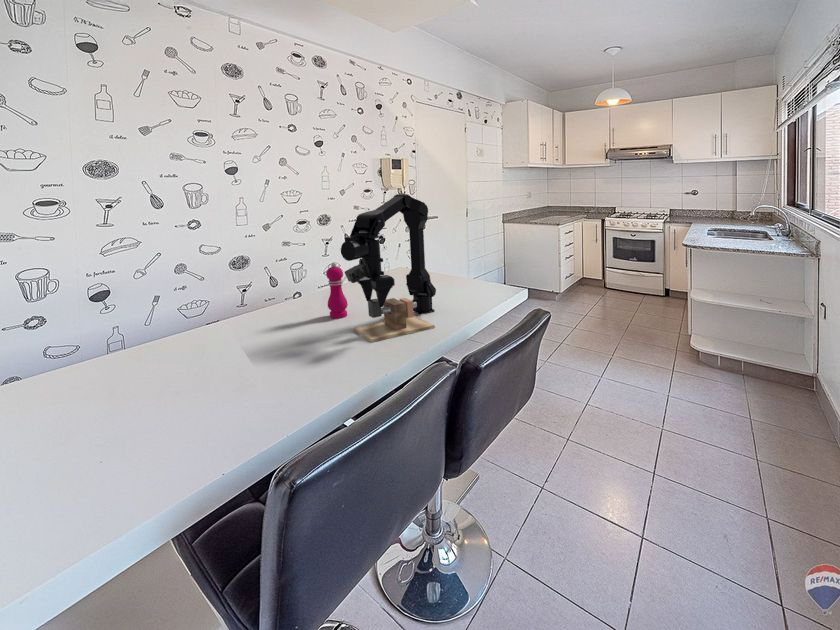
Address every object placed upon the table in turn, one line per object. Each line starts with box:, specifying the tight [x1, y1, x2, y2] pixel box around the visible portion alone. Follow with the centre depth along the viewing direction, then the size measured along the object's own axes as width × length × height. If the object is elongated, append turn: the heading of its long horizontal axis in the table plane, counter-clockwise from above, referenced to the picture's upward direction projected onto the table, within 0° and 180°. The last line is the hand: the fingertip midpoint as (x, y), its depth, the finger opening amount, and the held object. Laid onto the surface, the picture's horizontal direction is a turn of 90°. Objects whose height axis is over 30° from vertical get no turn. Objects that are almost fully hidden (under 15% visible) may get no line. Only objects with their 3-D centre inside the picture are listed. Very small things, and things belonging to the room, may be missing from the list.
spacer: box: [399, 297, 414, 318], centre depth 149 cm, size 2×5×5 cm, turn 30°
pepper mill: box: [325, 262, 349, 319], centre depth 162 cm, size 7×7×20 cm
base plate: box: [353, 314, 436, 343], centre depth 148 cm, size 23×14×1 cm, turn 120°
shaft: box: [367, 298, 417, 319], centre depth 146 cm, size 16×3×5 cm, turn 120°
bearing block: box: [382, 297, 406, 330], centre depth 147 cm, size 4×8×8 cm, turn 30°
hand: (374, 304), depth 142 cm, fingers open, 9 cm apart
